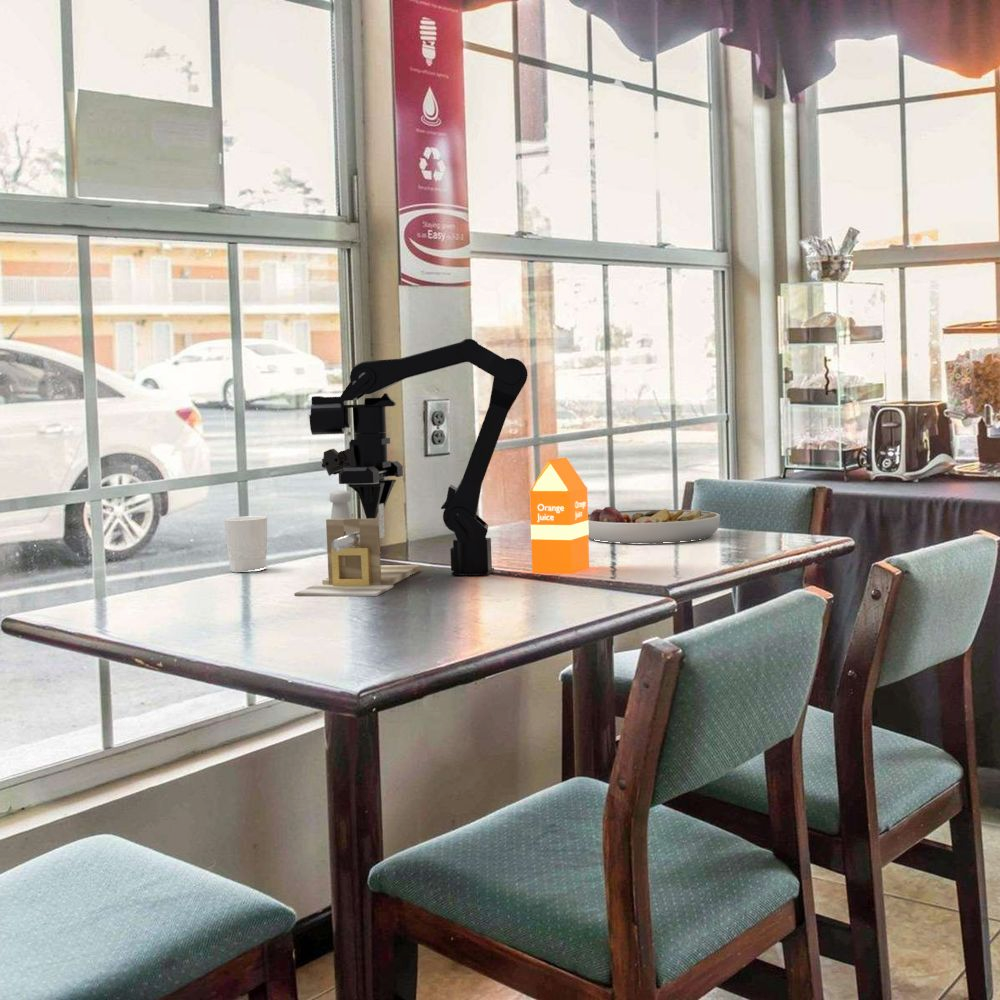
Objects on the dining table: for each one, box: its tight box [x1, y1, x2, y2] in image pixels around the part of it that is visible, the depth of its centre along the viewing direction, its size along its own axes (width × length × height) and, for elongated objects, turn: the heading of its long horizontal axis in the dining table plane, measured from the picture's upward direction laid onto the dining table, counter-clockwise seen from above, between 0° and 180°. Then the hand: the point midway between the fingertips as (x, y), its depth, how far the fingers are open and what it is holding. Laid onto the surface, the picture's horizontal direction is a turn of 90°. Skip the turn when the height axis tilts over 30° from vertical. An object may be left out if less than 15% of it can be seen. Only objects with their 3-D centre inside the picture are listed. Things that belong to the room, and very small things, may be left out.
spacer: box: [331, 547, 372, 586], centre depth 217 cm, size 2×6×6 cm, turn 78°
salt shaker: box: [328, 489, 355, 547], centre depth 265 cm, size 6×6×13 cm
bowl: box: [588, 506, 721, 543], centre depth 277 cm, size 30×30×8 cm
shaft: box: [331, 503, 386, 551], centre depth 220 cm, size 21×3×6 cm, turn 168°
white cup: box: [224, 515, 268, 574], centre depth 243 cm, size 8×8×10 cm
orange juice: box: [529, 456, 590, 575], centre depth 230 cm, size 8×9×20 cm
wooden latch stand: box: [293, 518, 421, 597], centre depth 222 cm, size 29×14×12 cm, turn 168°
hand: (373, 520), depth 229 cm, fingers closed on shaft, 3 cm apart
